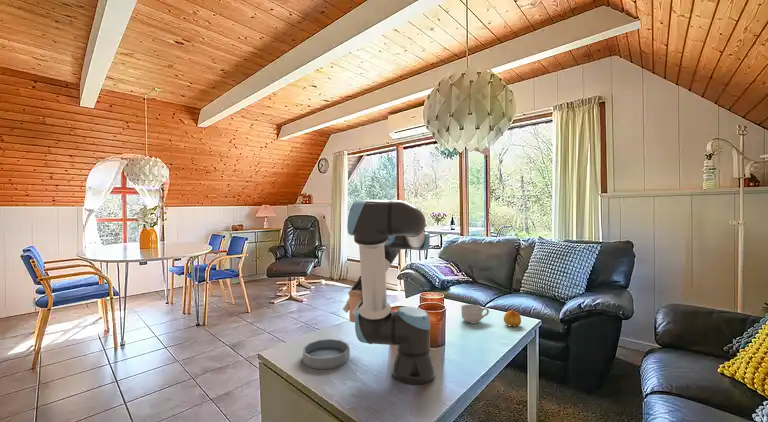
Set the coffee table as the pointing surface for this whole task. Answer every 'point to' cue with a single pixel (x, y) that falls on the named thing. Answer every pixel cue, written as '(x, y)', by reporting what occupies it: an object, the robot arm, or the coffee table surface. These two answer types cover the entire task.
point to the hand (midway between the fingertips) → (349, 312)
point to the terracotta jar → (354, 302)
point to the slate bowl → (326, 354)
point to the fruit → (512, 318)
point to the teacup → (473, 313)
